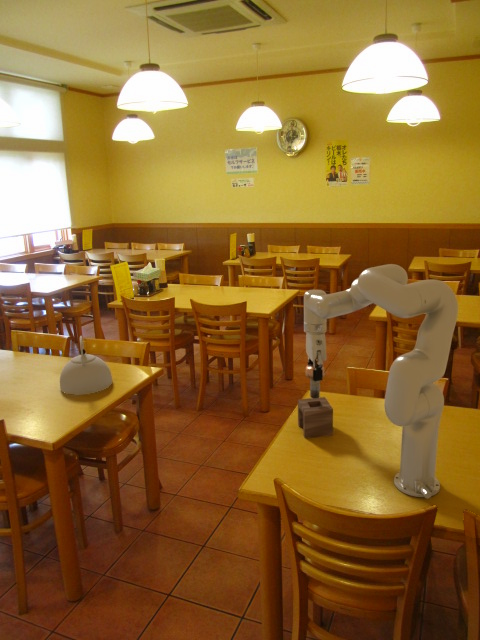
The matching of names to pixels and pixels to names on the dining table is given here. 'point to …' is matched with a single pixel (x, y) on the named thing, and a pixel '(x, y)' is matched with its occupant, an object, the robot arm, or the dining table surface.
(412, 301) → the robot arm
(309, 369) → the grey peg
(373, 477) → the dining table surface
